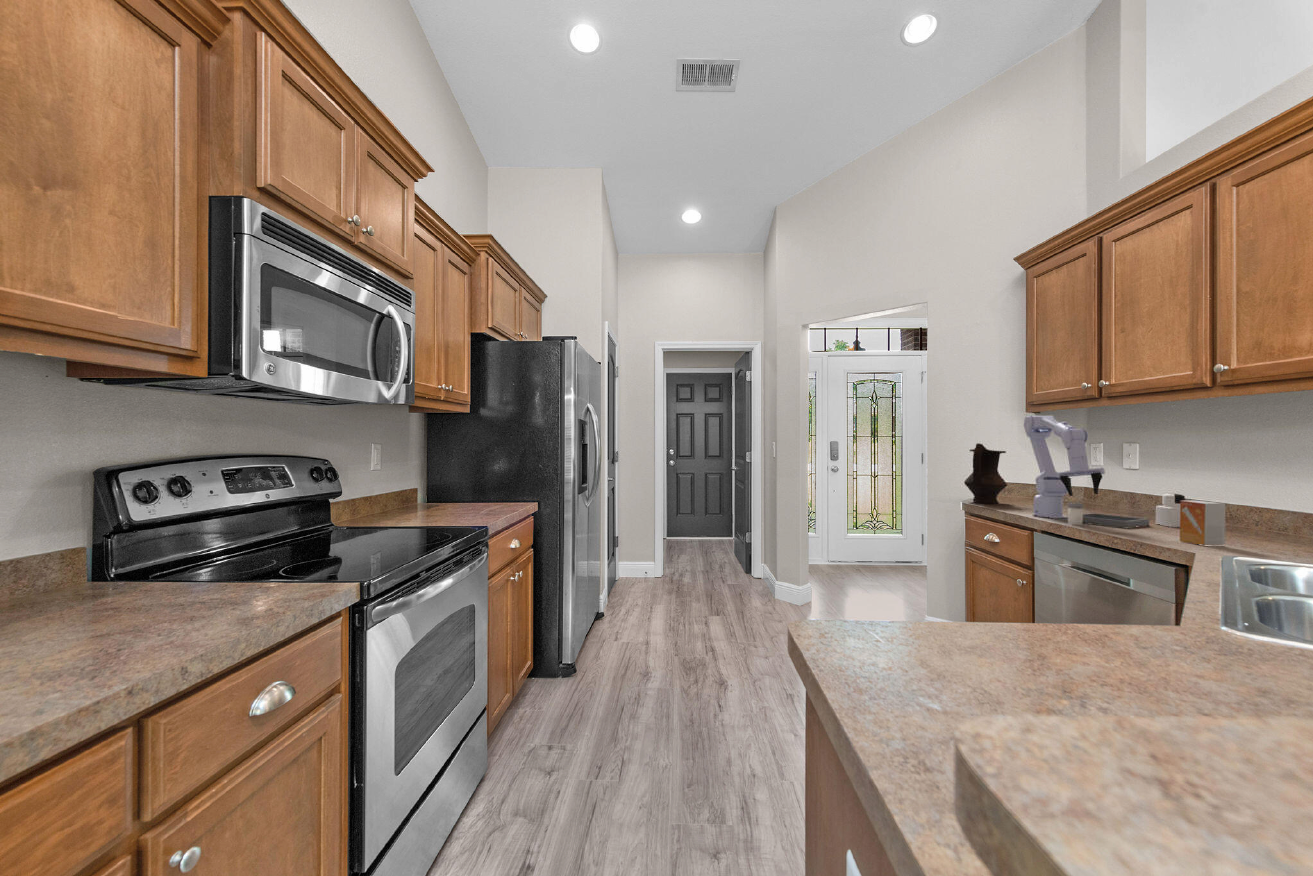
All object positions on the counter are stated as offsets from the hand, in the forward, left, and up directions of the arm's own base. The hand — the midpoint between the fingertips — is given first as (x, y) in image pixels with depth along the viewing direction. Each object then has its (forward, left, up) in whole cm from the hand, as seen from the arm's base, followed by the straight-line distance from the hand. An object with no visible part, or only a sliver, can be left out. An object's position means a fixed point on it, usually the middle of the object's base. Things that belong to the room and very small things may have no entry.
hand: (1083, 494), depth 204 cm
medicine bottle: (+15, +30, -12) cm, 35 cm away
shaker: (-2, -1, -11) cm, 12 cm away
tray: (+2, +14, -11) cm, 18 cm away
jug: (-61, +35, -12) cm, 71 cm away
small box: (+36, -8, -12) cm, 39 cm away
